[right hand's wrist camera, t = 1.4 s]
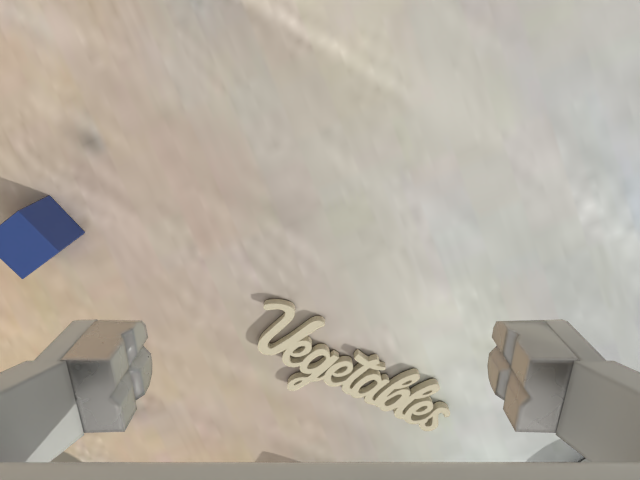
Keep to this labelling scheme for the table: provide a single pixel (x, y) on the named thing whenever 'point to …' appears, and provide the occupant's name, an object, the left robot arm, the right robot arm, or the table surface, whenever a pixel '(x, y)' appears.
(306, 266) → the table surface
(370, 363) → the decorative sign
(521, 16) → the table surface
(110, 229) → the table surface
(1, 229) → the block
